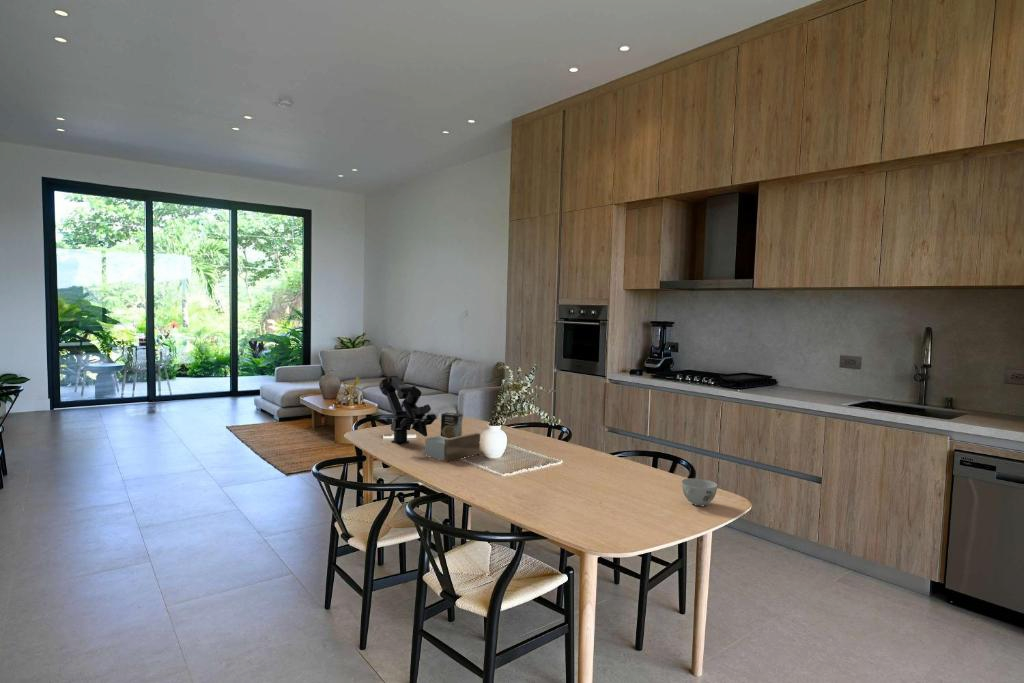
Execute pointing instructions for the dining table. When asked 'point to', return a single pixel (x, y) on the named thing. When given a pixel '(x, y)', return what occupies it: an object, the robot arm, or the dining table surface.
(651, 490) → the dining table surface
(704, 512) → the dining table surface
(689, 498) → the teacup
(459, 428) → the coffee box
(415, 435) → the dining table surface
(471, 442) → the walnut board
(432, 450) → the grey block
